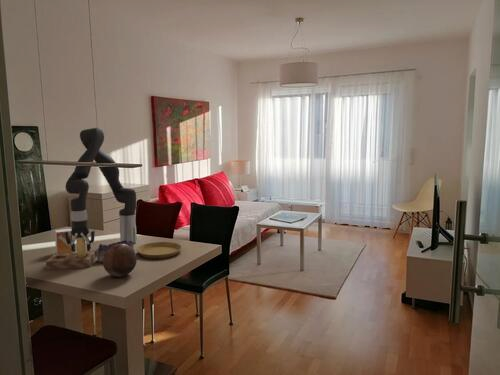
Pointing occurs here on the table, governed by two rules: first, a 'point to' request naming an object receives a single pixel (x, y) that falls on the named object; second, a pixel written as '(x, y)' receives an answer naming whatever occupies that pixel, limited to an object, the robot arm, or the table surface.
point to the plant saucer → (159, 249)
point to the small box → (62, 242)
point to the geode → (103, 248)
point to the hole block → (69, 261)
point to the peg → (81, 248)
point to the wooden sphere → (119, 260)
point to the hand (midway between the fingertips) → (81, 251)
